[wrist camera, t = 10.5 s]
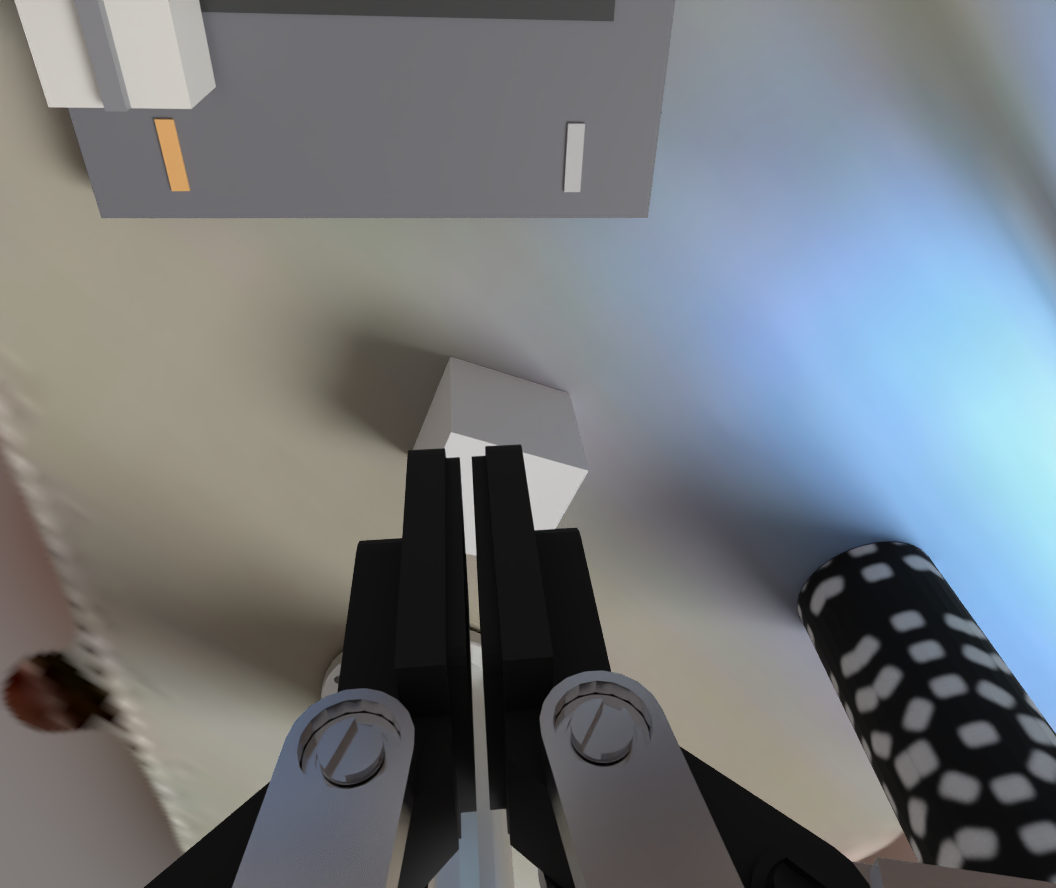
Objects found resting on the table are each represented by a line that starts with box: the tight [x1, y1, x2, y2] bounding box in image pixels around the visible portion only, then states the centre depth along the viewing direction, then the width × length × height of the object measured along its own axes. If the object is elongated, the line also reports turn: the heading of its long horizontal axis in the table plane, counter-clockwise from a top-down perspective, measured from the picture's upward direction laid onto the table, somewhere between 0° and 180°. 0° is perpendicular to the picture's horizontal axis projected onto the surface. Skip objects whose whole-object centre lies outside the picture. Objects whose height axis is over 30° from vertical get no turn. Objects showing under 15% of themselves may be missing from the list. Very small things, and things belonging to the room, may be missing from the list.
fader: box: [15, 0, 216, 112], centre depth 22 cm, size 5×4×3 cm
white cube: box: [413, 357, 589, 556], centre depth 34 cm, size 6×6×6 cm
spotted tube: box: [798, 542, 1056, 884], centre depth 39 cm, size 8×8×20 cm
